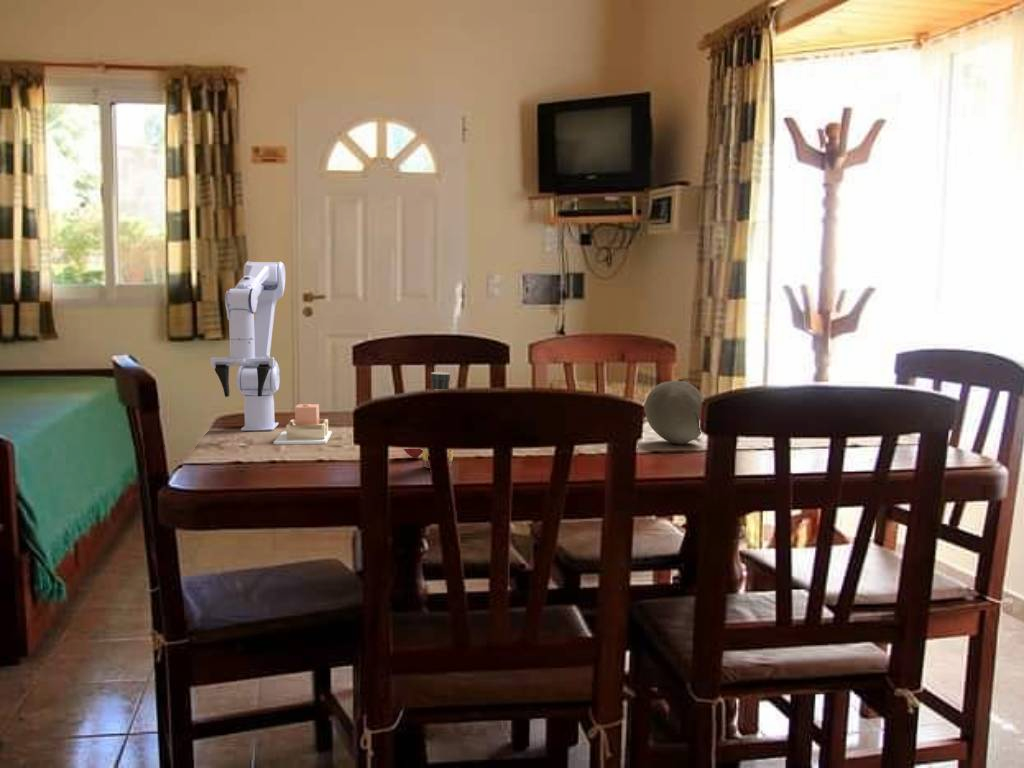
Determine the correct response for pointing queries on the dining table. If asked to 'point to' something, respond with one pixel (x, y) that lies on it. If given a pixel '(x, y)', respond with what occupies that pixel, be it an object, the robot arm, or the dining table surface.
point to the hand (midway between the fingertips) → (243, 396)
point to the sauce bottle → (438, 382)
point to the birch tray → (307, 430)
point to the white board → (283, 440)
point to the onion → (414, 452)
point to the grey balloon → (674, 411)
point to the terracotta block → (307, 414)
